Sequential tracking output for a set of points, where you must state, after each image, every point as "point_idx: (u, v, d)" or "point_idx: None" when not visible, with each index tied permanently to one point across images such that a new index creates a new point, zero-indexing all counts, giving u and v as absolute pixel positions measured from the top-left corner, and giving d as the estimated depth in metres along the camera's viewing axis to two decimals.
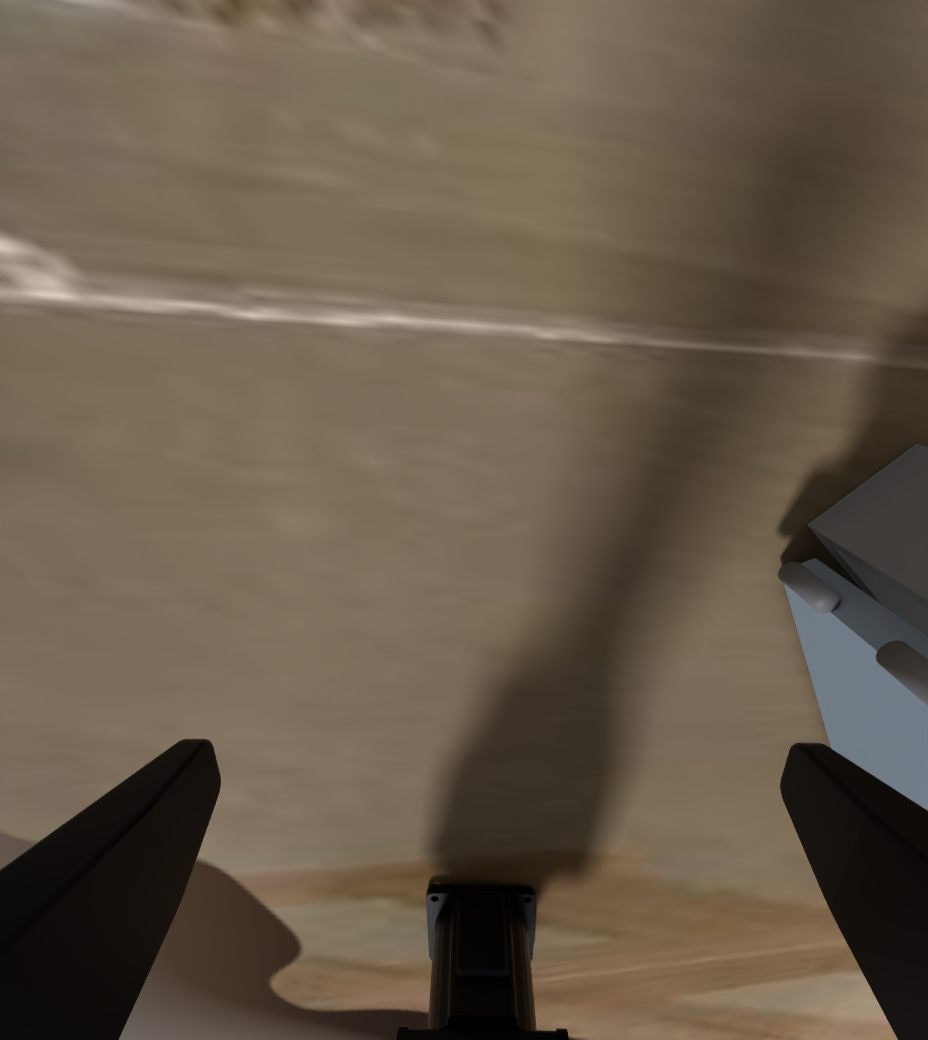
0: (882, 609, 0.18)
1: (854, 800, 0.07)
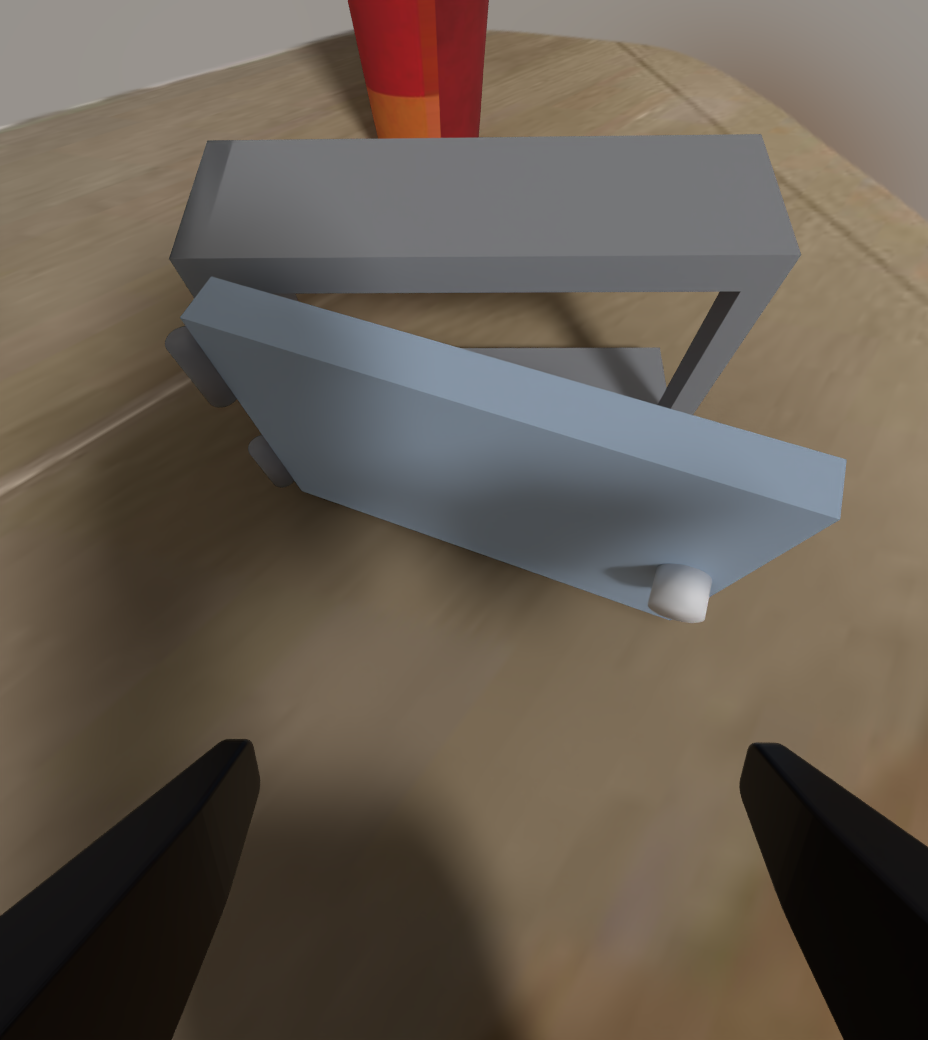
0: None
1: (804, 800, 0.07)
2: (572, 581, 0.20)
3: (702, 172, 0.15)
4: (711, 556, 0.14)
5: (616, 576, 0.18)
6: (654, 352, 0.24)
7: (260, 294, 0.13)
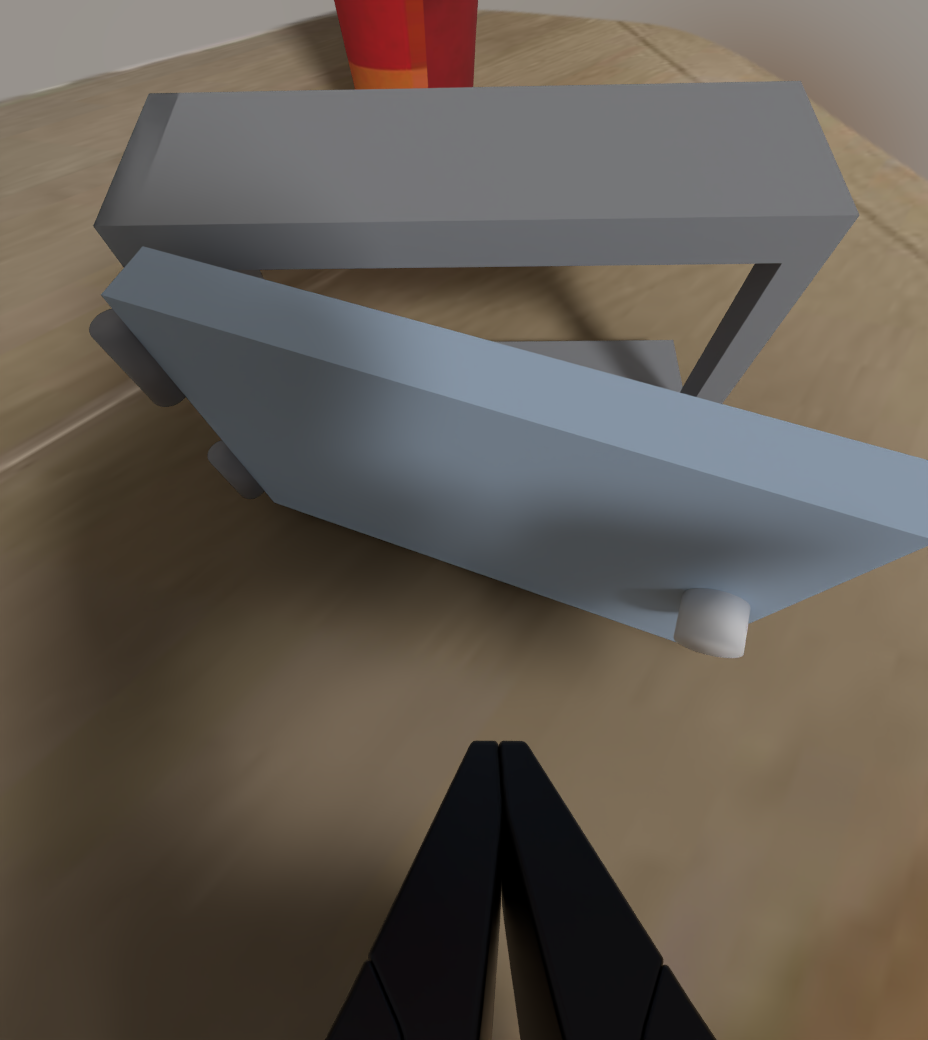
0: None
1: (507, 797, 0.07)
2: (580, 604, 0.17)
3: (734, 123, 0.12)
4: (753, 581, 0.12)
5: (632, 599, 0.15)
6: (667, 345, 0.21)
7: (201, 266, 0.11)
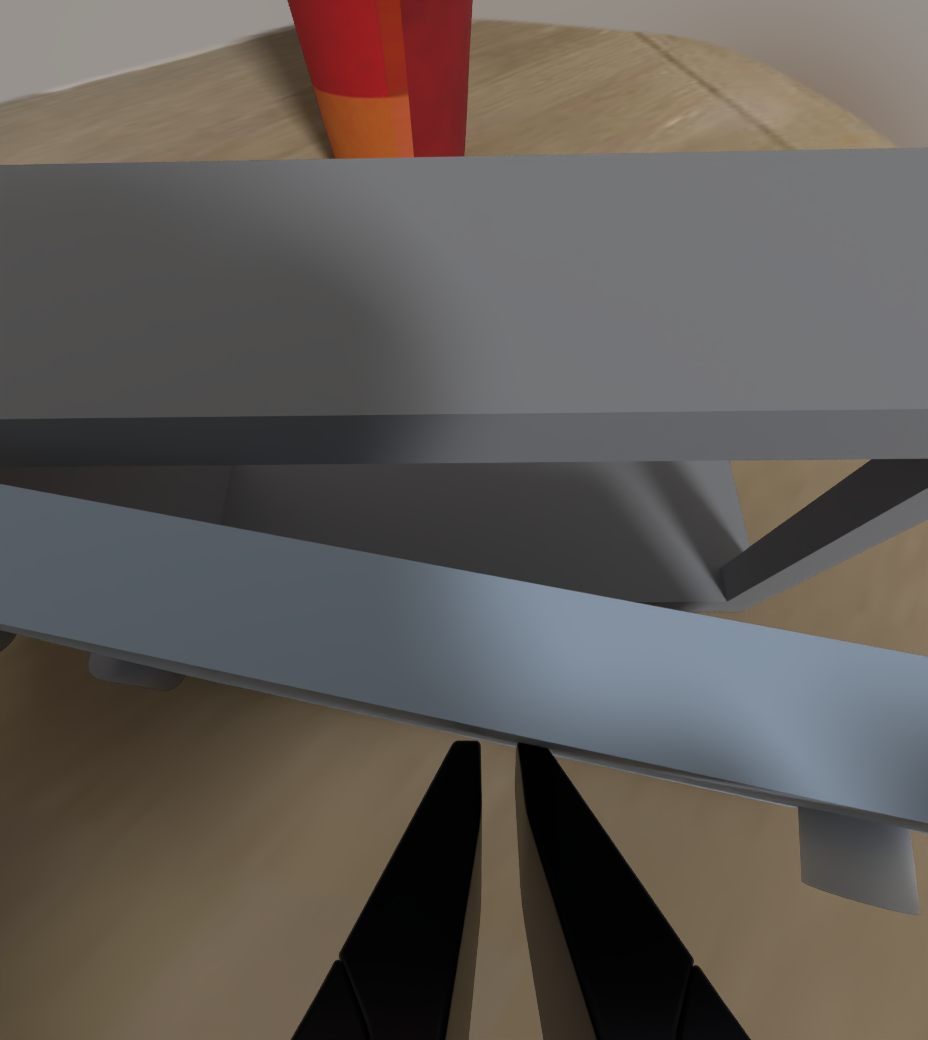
0: None
1: (528, 797, 0.07)
2: None
3: (893, 222, 0.08)
4: None
5: (712, 788, 0.11)
6: None
7: None
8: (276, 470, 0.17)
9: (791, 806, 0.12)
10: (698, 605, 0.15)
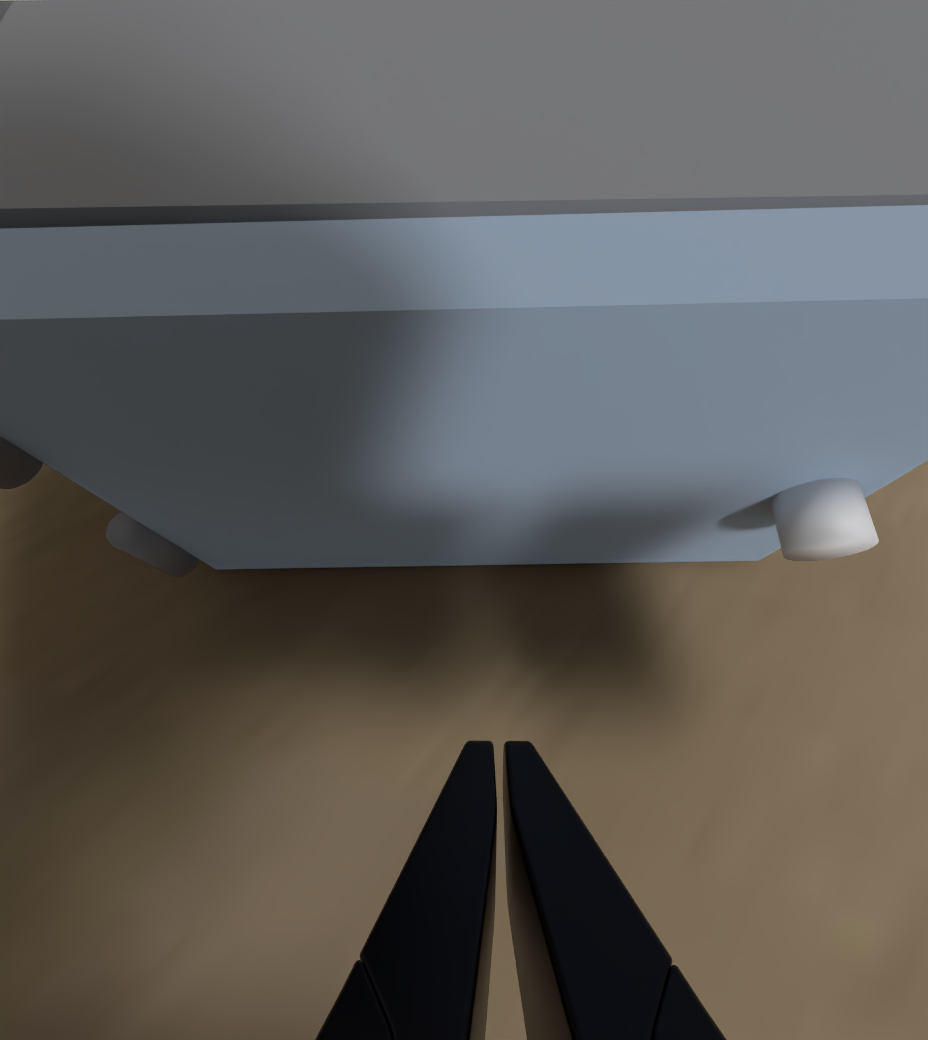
0: None
1: (513, 797, 0.07)
2: (627, 557, 0.15)
3: (894, 41, 0.08)
4: (881, 450, 0.09)
5: (699, 529, 0.13)
6: None
7: None
8: None
9: (767, 540, 0.13)
10: None
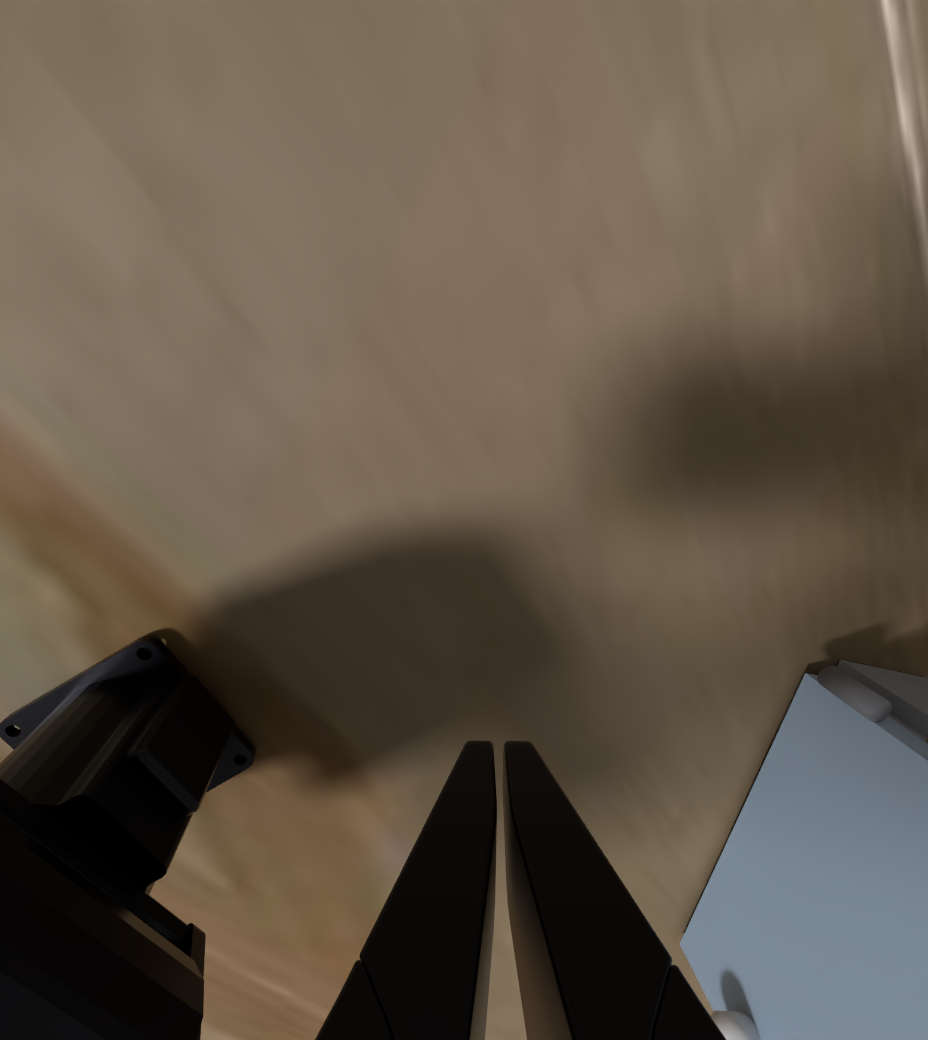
0: (920, 740, 0.19)
1: (513, 797, 0.07)
2: (714, 894, 0.25)
3: None
4: None
5: (732, 959, 0.23)
6: None
7: None
8: (917, 732, 0.24)
9: (703, 971, 0.25)
10: None
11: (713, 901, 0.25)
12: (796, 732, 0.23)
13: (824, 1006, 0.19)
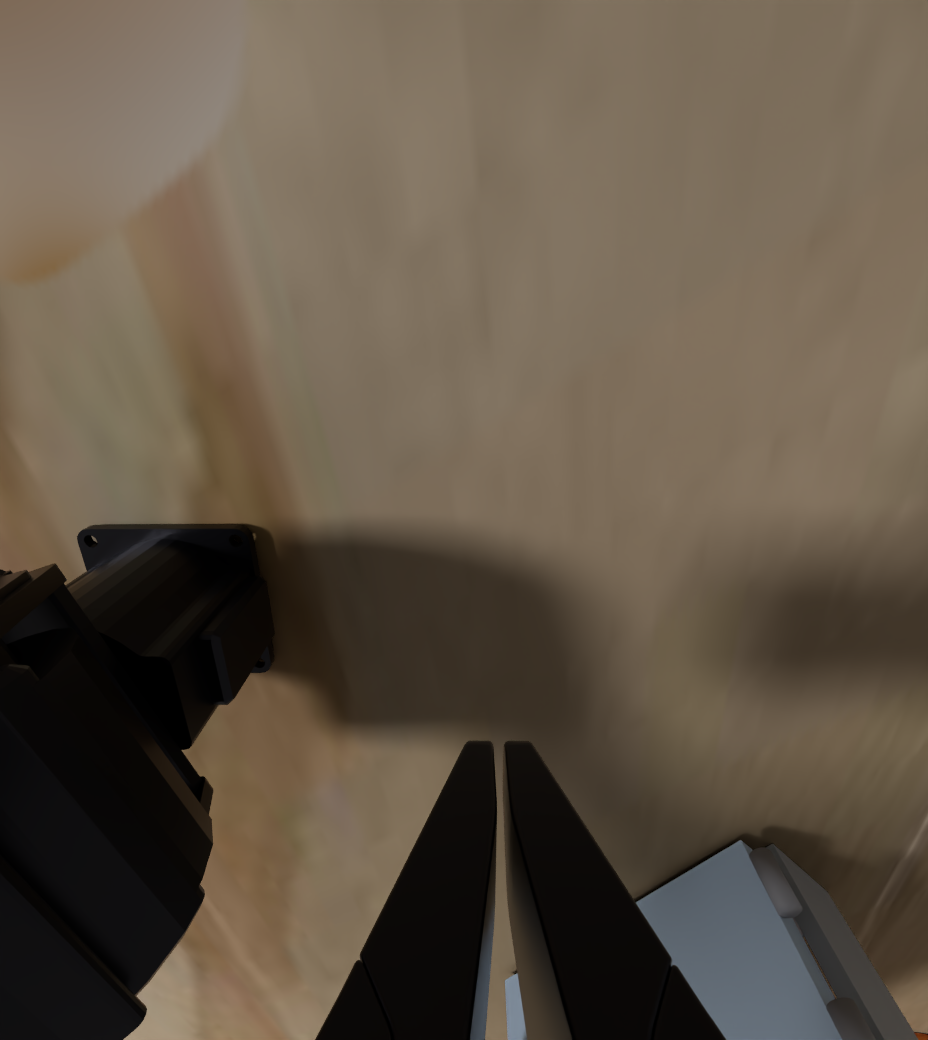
0: (808, 950, 0.21)
1: (513, 797, 0.07)
2: None
3: None
4: None
5: None
6: None
7: None
8: None
9: (515, 1013, 0.28)
10: None
11: None
12: (705, 881, 0.25)
13: None
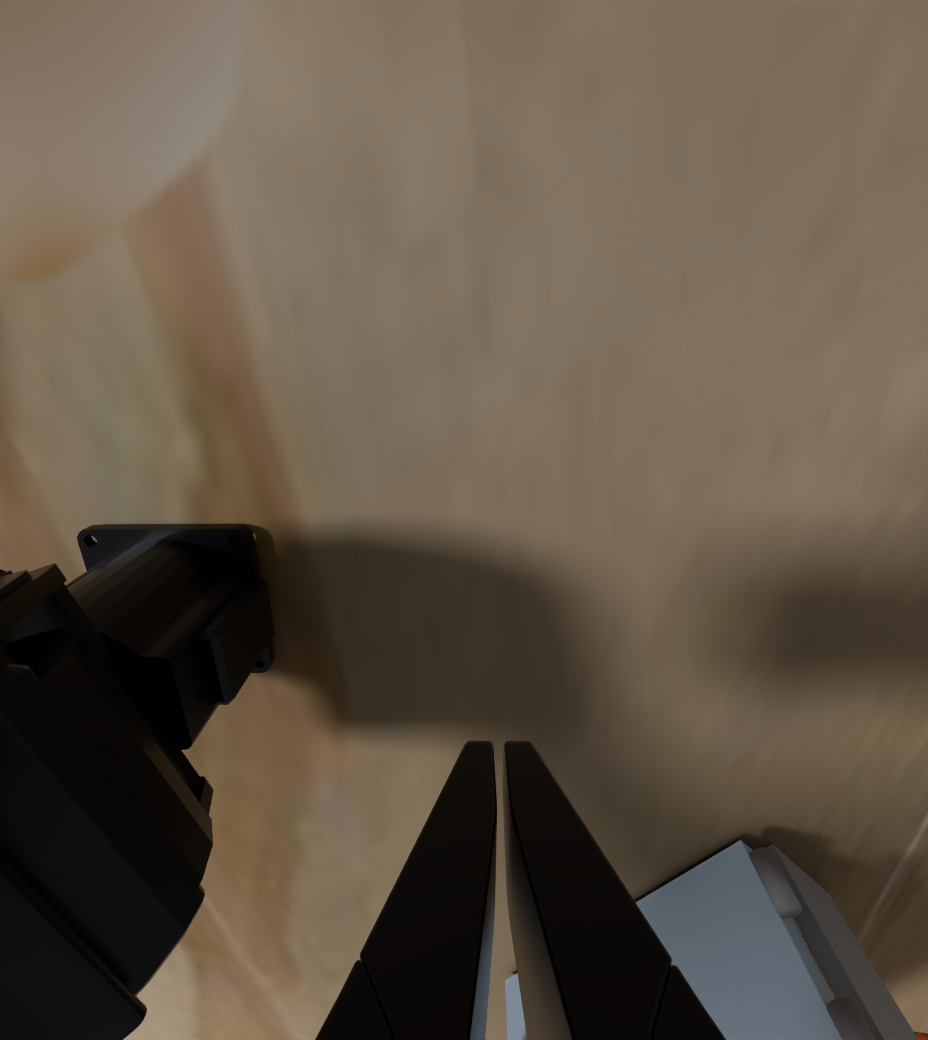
0: (808, 950, 0.21)
1: (513, 797, 0.07)
2: None
3: None
4: None
5: None
6: None
7: None
8: None
9: (515, 1013, 0.28)
10: None
11: None
12: (705, 881, 0.25)
13: None
